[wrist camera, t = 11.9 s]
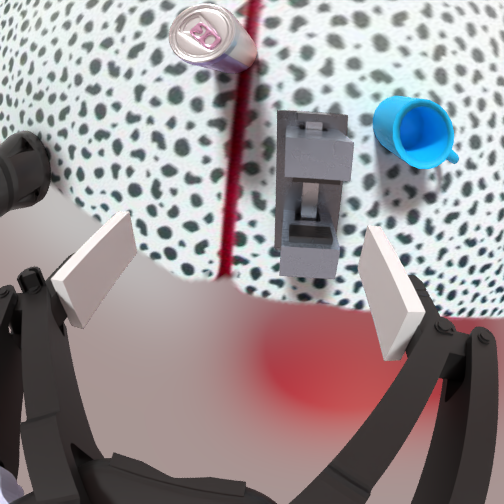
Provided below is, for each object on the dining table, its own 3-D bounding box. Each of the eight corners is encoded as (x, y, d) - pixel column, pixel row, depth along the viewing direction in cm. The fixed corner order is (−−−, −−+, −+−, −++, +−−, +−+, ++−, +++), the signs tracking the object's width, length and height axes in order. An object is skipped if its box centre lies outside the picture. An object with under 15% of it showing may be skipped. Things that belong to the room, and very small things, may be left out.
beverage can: (232, 82, 33) (198, 78, 20) (202, 53, 31) (153, 37, 18) (267, 53, 30) (253, 30, 18) (235, 24, 28) (203, -11, 16)
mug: (362, 135, 34) (380, 147, 27) (387, 84, 30) (410, 84, 23) (429, 176, 35) (455, 196, 29) (453, 130, 31) (483, 142, 24)
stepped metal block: (282, 235, 43) (279, 275, 34) (283, 205, 40) (281, 239, 32) (326, 238, 42) (334, 279, 34) (330, 208, 40) (341, 243, 31)
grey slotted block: (274, 244, 45) (269, 289, 35) (277, 109, 34) (273, 116, 25) (333, 248, 44) (342, 292, 34) (346, 114, 33) (367, 124, 24)
